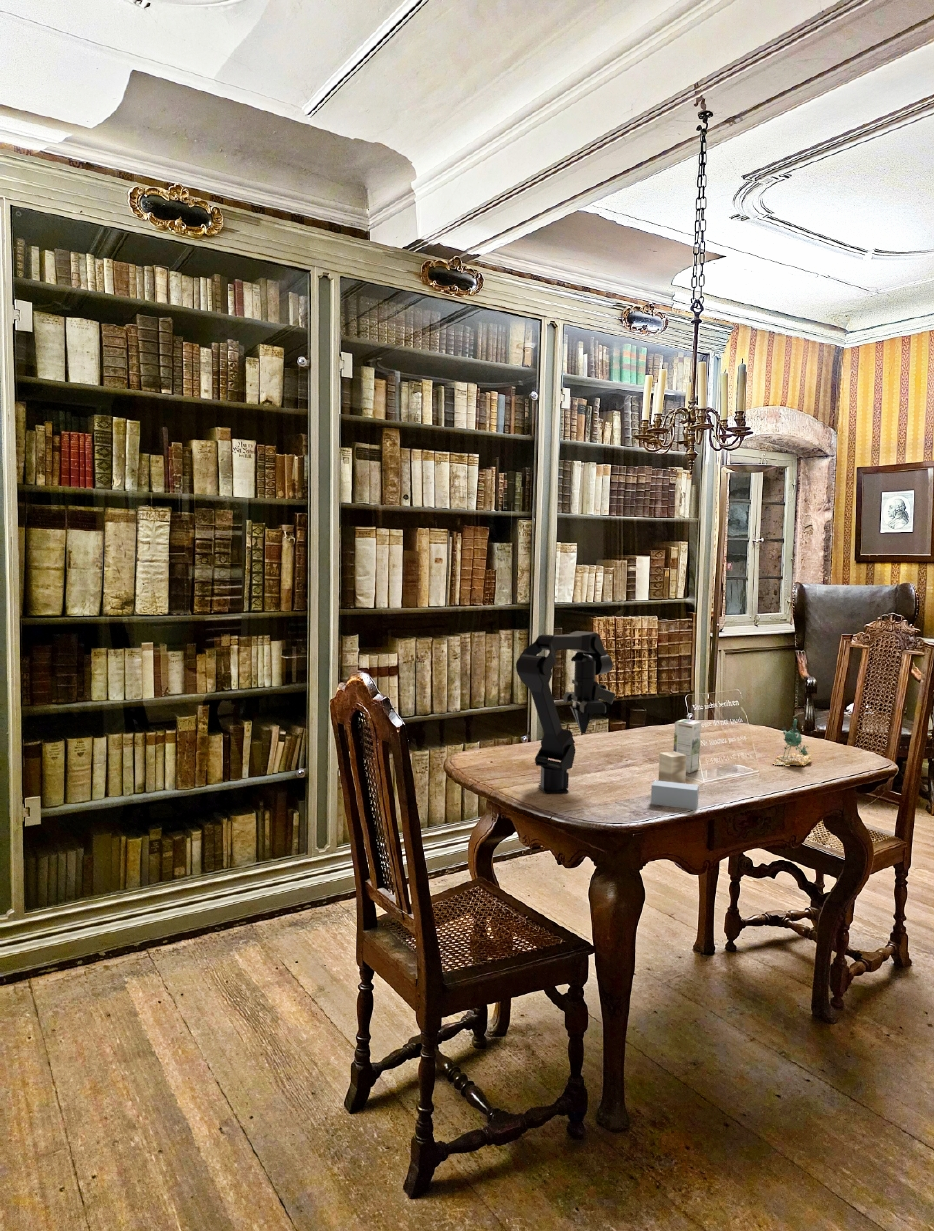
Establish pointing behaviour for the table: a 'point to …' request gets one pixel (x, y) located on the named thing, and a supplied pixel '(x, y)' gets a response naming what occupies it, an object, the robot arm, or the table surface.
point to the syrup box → (688, 742)
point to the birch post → (672, 767)
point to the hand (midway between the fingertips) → (583, 733)
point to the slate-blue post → (674, 794)
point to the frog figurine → (793, 740)
